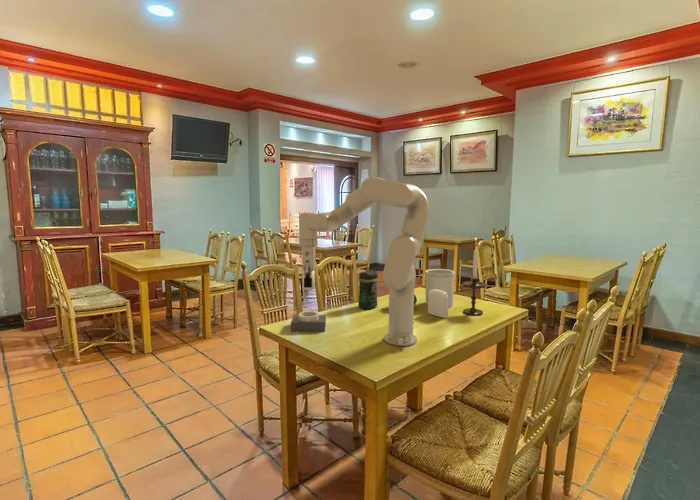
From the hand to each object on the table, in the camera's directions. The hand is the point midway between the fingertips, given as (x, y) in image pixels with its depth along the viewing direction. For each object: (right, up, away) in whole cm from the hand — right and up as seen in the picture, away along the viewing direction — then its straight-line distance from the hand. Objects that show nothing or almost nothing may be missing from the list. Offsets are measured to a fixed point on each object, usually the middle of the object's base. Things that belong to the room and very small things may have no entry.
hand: (308, 285), depth 164 cm
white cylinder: (0, -1, 0) cm, 1 cm away
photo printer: (+59, -16, +20) cm, 64 cm away
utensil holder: (+64, -14, +39) cm, 76 cm away
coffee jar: (+27, -14, +33) cm, 45 cm away
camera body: (0, -18, +2) cm, 19 cm away
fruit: (+45, -14, +33) cm, 57 cm away
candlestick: (+77, -16, +24) cm, 82 cm away
